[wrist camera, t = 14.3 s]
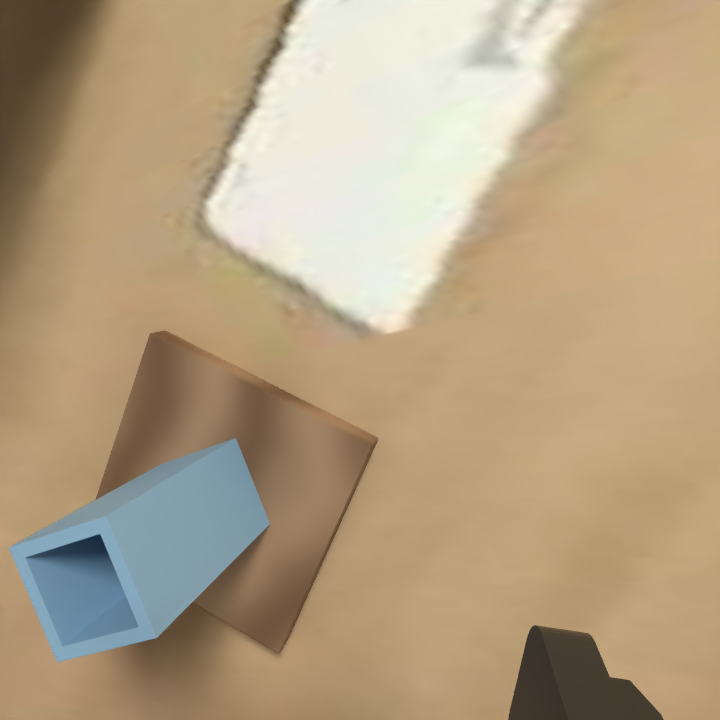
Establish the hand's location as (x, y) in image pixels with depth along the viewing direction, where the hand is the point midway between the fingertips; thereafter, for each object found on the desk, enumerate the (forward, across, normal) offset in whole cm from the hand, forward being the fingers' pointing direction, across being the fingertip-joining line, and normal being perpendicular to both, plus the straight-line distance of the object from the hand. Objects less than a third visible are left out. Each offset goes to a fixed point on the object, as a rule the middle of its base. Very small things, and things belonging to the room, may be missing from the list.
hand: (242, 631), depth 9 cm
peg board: (+26, +6, +12) cm, 29 cm away
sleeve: (+24, +7, +12) cm, 28 cm away
